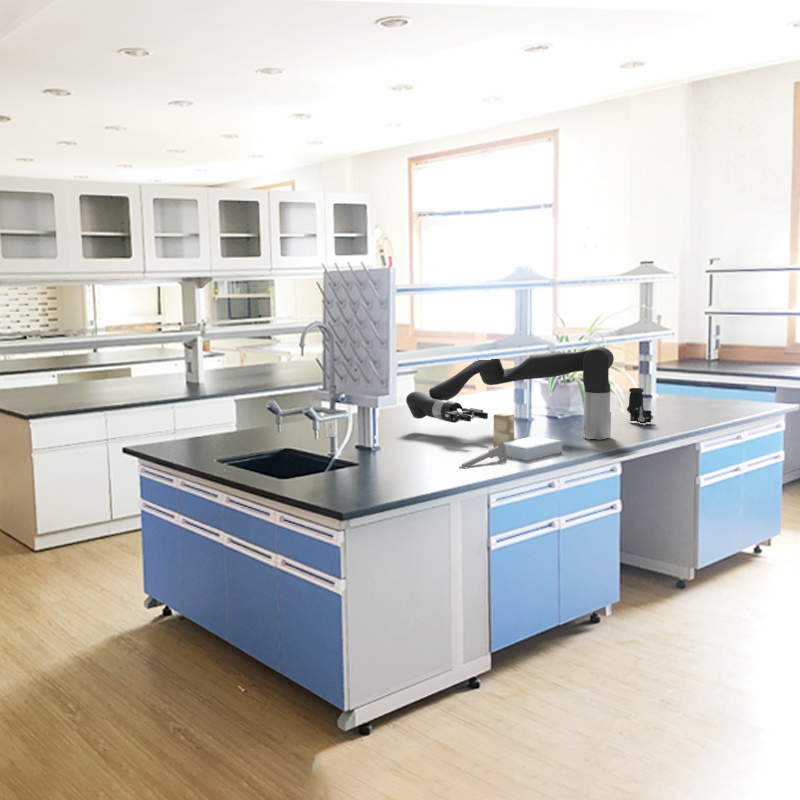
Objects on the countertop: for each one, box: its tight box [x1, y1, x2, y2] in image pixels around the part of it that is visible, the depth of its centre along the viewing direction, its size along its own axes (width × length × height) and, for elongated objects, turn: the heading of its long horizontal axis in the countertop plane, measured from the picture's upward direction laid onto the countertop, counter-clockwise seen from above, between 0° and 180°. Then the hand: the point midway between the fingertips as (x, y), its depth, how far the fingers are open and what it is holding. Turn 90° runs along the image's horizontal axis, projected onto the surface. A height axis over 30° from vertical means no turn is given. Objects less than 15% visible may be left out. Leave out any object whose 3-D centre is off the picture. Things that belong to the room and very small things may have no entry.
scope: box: [626, 387, 654, 423], centre depth 338 cm, size 8×14×10 cm
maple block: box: [493, 412, 515, 448], centre depth 292 cm, size 5×5×12 cm
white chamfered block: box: [501, 435, 563, 461], centre depth 284 cm, size 18×12×4 cm, turn 131°
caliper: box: [458, 441, 507, 469], centre depth 270 cm, size 20×1×6 cm, turn 130°
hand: (478, 417), depth 300 cm, fingers open, 8 cm apart
